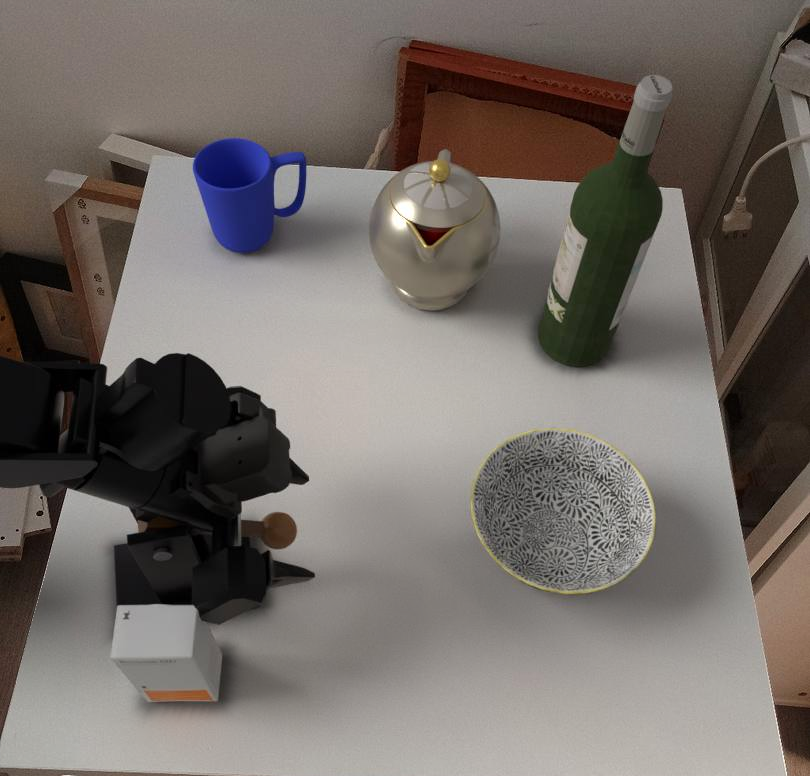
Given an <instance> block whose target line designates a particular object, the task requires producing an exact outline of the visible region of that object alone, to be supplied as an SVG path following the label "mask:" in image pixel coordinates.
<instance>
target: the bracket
mask: <svg viewBox="0 0 810 776" xmlns="http://www.w3.org/2000/svg"><path fill="white" fill-rule="evenodd" d="M128 509H129V511H130V512H131V515H132V516H133V518H134V520H135V521H136V524H137V525H138V520H136V509H133V508H130V507H128ZM243 545H246V546H249V547H252V540H251V537H241V546H243ZM211 556H212V535H207V534H198V535H196V536H195V537H193V536H190V534H189V532H188V529H187V527H186V525H180V526H174V527H169V528H163V529H157V530H151V531H145V532H139V533H138V532H134V533H127V534H126V543H120V544H113V558H114V578H115V579H114V580H115V601H116V607H117V606H118V605H152V604H165V605H192V568H193V567H195V566H196V565H198V564H200V563H201V562H203V561H205V560H206V559H208V558H210V557H211ZM260 605H261V604H259V605H257V606H255V607H253V608H251V609H257V608H260ZM251 609H250V610H251Z"/></svg>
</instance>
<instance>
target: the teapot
mask: <svg viewBox="0 0 810 776" xmlns="http://www.w3.org/2000/svg"><path fill="white" fill-rule="evenodd" d="M452 159H453V153H452V152H451V151H450V149H447V148H444V149H442V150H440V151H439V152H438V155H437V158H436V159H435V160H428V161H422V162H418V163H414V164H412V165H409V166H407V167H405V168H404V169H402V170H400V171H399V172H397V173H395V175H394V176H392V177H391V178H390V179H389V180H388V181H387V182H386V183H385V184H384V186H383V187H382V189H381V190H380V191H379V193H378V195H377V196H376V198H375V201H374V203H373V205H372V207H371V212H370V216H369V222H368V237H369V238H368V239H369V244H370V245H369V246H370V249H371V252H372V255H373V258H374V260H375V262H376V265H377V266H378V268H379V269H380V271H381V272H382V274H383V275H384V276H385V277H386V279H387V280H388V281H390V283H391V287H392V289H393V291H394V293H395V294H396V295H397V297H398V298H399V299H400V300H401V301H402V302H404V303H405V304H407V305H408V306H410V307H412V308H415V309H419V310H422V311H441V310H445V309H449V308H451V307H454V306H455V305H456V304H458V303H459V302H460V301H462V300H463V298H465V296H466V295H467V293H468V292H469V289H470V288H471V287H473V286H474V285H475V284H476V283H478V282H479V281H480V280H481V279H482V278H483V277H484V276H485V274H486V273H488V272H487V271H488V270H489V269H490V268H491V266H492V264H493V261H494V260H495V257H496V255H497V252H498V248H499V245H500V239H501V218H500V213H499V210H498V206H497V203H496V200H495V199H494V196H493V195H492V192H491V191H490V189H489V188H488V187H487V185H486V184H485V183H484V182H483V181H482V180H481V179H480V178H479V176H477V175H476V174H474V173H473V172H472V171H470V170H469V169H467V168H465V167H463V166H461V165H459V164H456V163H454V162H452Z"/></svg>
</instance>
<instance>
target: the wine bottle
mask: <svg viewBox="0 0 810 776" xmlns="http://www.w3.org/2000/svg"><path fill="white" fill-rule="evenodd" d="M672 98H673V84H672V82H671V81H670V80H669V79H668V78H666V77H664V76H662V75H659V74H658V75H657V74H650V75H646V76H644V77H643V78H642V79H641V80H640V82H639V83H638V84H637V85H636V88H635V91H634V95H633V102H632V105H631V107H630V108H631V109H630V111H629V114H628V116H627V120H626V121H625V124H624V127H623V131H622V133H621V137H620V139H619V141H618V145H617V148H616V151H615V153H614V157H613V159H612V161H611V162H609V163H605V164H603V165H600V166H597V167H595V168H594V169H593V170H591V171H589V172H588V173H587V174H585V176H584V177H582V179H581V180H580V182H579V183H578V185H577V187H576V188H575V190H574V193H573V196H572V200H571V204H570V208H569V212H568V215H567V218H566V222H565V226H564V229H563V230H564V231H563V235H562V238H561V240H560V241H561V242H560V245H559V248H558V252H557V256H556V260H555V264H554V268H553V272H552V276H551V279H550V283H549V287H548V290H547V294H546V298H545V302H544V305H543V309H542V313H541V317H540V321H539V324H538V330H537V338H538V341H539V345H540V347H541V349H542V350H543V351H544V353H545V354H546V355H547V356H549V358H551V359H552V360H553V361H555V362H558V363H560V364H562V365H565V366H570V367H576V368H579V367H588V366H591V365H593V364H595V363H598V362H600V360H601V359H603V358H604V357H605V356H606V355H607V353H608V352H609V350H610V347H611V345H612V343H613V341H614V340H613V339H614V338H615V336H616V333H617V330H618V328H619V325H620V323H621V320H622V318H623V315H624V313H625V309H626V307H627V304H628V302H629V300H630V297H631V294H632V292H633V289H634V287H635V285H636V282H637V280H638V277H639V274H640V271H641V268H642V266H643V264H644V261H645V260H646V259H645V258H646V256H647V254H648V251H649V248H650V246H651V243H652V241H653V238H654V235H655V232H656V230H657V228H658V225H659V223H660V220H661V217H662V215H663V207H664V206H663V205H664V202H663V201H664V200H663V195H662V191H661V189H660V186H659V185H658V183H657V181H656V179H655V178H654V177H653V176H652V175H651V173H649V167H650V164H651V160H652V157H653V153H654V150H655V147H656V144H657V140H658V137H659V134H660V131H661V129H662V128H661V127H662V124H663V121H664V117H665V115H666V112H667V108H668V107H669V105H670V103H671V100H672Z"/></svg>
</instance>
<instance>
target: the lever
mask: <svg viewBox="0 0 810 776" xmlns="http://www.w3.org/2000/svg"><path fill="white" fill-rule="evenodd" d="M180 525H183V524H181V523H178V522H175V521H172V520H168V519H165V518H162V517H159V516H157V517H155V518H154V519H152V520H151V521H150V522H148V523H146V522H143V521H140V520H138V524H137V533H139V532H145V531H151V530H157V529H163V528H169V527H174V526H180ZM200 534H207V535H212V532H207V531H203V532H201V533H200ZM297 534H298V526H297V524H296V521H295V520H294V518H293V517H292V516H291V515H290V514H288V513H287V512H283V511H274V512H270V513H268V514H267V515H265V516H264V517H263V518H262V520H251V519H250V520H249V519H241V537H250V538H257V539H260V540H261V542H262V543H263V544H264V545H265V546H266V547H267V548H270V549H272V550H275V551H277V550H284V549H286V548H288V547H290V546H291V545H292V544H293V543H294V542H295V540H296V538H297Z"/></svg>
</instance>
